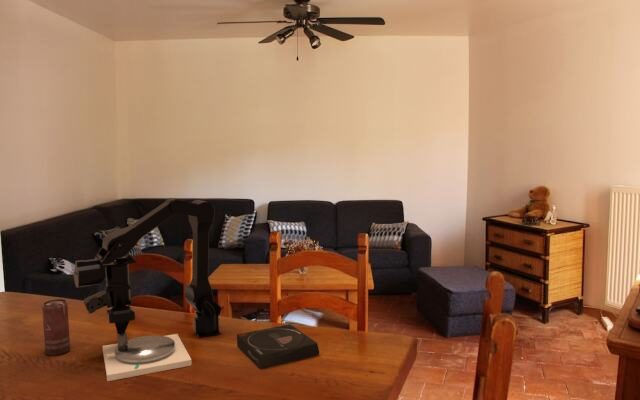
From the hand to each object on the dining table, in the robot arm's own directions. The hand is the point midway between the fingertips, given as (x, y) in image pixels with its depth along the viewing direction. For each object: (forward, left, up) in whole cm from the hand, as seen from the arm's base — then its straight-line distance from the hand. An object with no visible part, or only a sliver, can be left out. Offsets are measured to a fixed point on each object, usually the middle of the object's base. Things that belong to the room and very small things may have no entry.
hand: (120, 337), depth 139 cm
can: (+16, -8, -5) cm, 18 cm away
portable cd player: (-38, +18, -5) cm, 43 cm away
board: (-5, +7, -4) cm, 10 cm away
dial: (-4, +7, -3) cm, 8 cm away
